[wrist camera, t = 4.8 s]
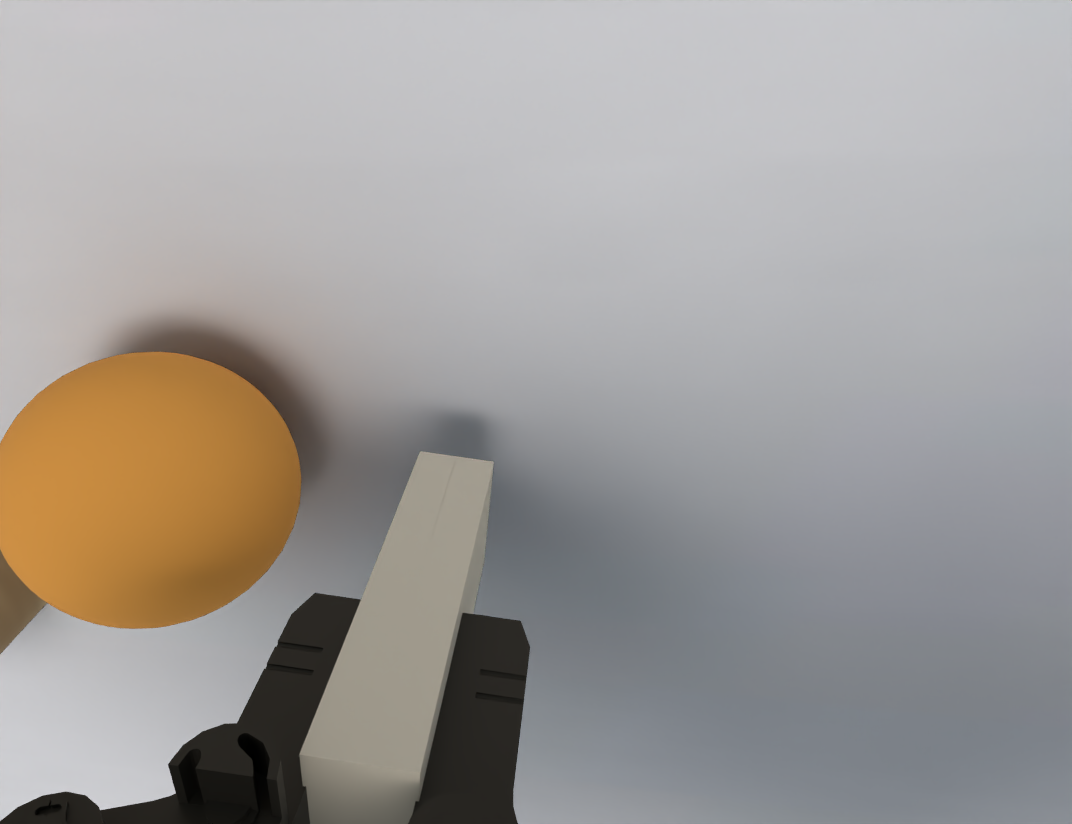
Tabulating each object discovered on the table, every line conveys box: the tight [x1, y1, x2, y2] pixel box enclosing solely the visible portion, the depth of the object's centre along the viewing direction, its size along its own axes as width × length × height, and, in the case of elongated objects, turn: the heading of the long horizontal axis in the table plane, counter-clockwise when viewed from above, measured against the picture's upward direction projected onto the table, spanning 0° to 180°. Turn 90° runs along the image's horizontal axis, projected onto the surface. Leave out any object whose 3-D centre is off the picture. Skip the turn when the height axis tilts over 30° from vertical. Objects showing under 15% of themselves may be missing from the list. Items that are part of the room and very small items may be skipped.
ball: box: [0, 352, 301, 629], centre depth 14 cm, size 6×6×6 cm
